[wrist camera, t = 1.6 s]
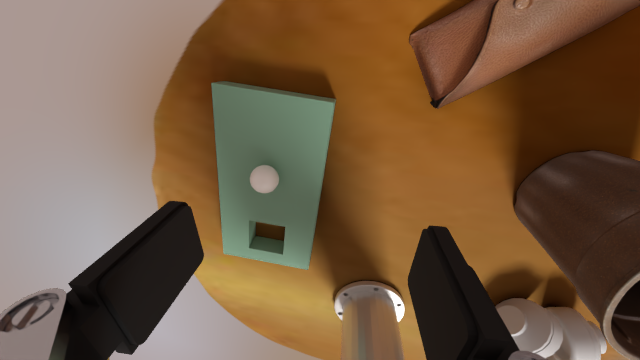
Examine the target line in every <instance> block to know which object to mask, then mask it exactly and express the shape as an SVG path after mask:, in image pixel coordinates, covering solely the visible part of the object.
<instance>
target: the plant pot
mask: <svg viewBox="0 0 640 360" xmlns="http://www.w3.org/2000/svg"><path fill="white" fill-rule="evenodd" d="M516 194H517V201H516V204H515V206H514V208H515V213H516V215H517V217H518V219H519V220H520V221H521V223H522V224H523V225H524V226H525V227H526V228H527V229H528V230H529V232H530V233H531V234H532V235H533V236H534V238H535V239H536V240H537V241H538V242H539V243H540V245H541V246H542V247H543V248H544V249H545V251H546V252H547V253H548V254H549V255H550V257H551V258H552V259H553V260H554V262H555V263H556V264H557V265H558V266H559V268H560V269H561V270H562V271H563V273H564V274H565V275H566V276H567V277H568V279H569V280H570V281H571V282H572V283H573V285H574V286H575V287H576V291H577V293H578V295H579V297H580V299H581V300H582V301H583V303H584V304H585V305H586V306H587V308H588V309H589V310H590V312H591V313H592V314H593V315H594V317H595V318H596V319H597V321H598V322H599V323H600V328H601V331H602V334H603V336H604V337H605V339H606V340H607V341H608V343H609V344H610V345H611V346H612V347H613V348H614V349H615V350H616V351H617V352H618V353H620V354H621V355H623V356H624V357H626V358H628V359H630V360H640V161H638V160H634V159H630V158H626V157H622V156H619V155H615V154H611V153H608V152H603V151H596V150H591V151H587V152H576V153H567V154H564V155H561V156H559V157H556V158H554V159H552V160H550V161H548V162H546V163H545V164H543V165H542V166H540V167H539V168H537V169H536V170H534V171H533V172H532V173H531V174H530V175H529V176H528V177H527V178H526V179H525V180H524V181H523V182H522V184H521V185H520V187H519V189H518V191H517V193H516Z"/></svg>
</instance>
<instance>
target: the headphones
mask: <svg viewBox="0 0 640 360" xmlns="http://www.w3.org/2000/svg"><path fill="white" fill-rule="evenodd" d="M495 308H496V309H497V311H498V313H499V315H500V316H501V318H502V320H503V322H504V323H505V325H506V327H507V329H508V330H509V332H510V334H511V336H512V337H513V339H514V341H515V343H516V344H517V346H518V348H519V350H520V351H529V352H532V353H535V354H538V355H540V356H542V357H544V358H546V359H547V360H601V354H603V353H605V352H606V349H607V346H606V341H605V338H604V336H603V334H602V332H601V331H600V329H599V328H598V327H597V326H596V325H595V324H594V323H593V322H591V321H586V320H585V319H584V317H583V316H582V315H581V314H580V313H578V312H577V311H576V310H574V309H572V308H569V307H547V308H543V307H542V306H540V305H538V304H536V303H535V302H533V301H530V300H527V299H523V298H512V299H508V300H504V301H502V302H501V303H499V304H497V305H496V306H495Z"/></svg>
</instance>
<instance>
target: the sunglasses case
mask: <svg viewBox="0 0 640 360" xmlns="http://www.w3.org/2000/svg"><path fill="white" fill-rule="evenodd" d="M639 5H640V0H473V1H471V2H470V3H468V4H466V5H465V6H463V7H461V8H459V9H458V10H456V11H454V12H452V13H451V14H449V15H447V16H445V17H443V18H441V19H439V20H437V21H436V22H434V23H432V24H430V25H428V26H426V27H424V28H422V29H420V30H418V31H416V32H414V33H413V34H411V35H410V39H409V43H410V45H411V46H412V48H413V49H414V52H415V55H416V58H417V61H418V63H419V66H420V69H421V72H422V75H423V78H424V81H425V84H426V86H427V89H428V92H429V95H430V97H431V98H432V100H433V101H431V102H430V103H431V104H432V106H433V107H434V108H437V109H438V108H441V107H442V106H444V105H446V104H448V103H450V102H453V101H455V100H457V99H459V98H461V97H463V96H465V95H468V94H470V93H472V92H474V91H476V90H478V89H480V88H482V87H484V86H486V85H488V84H490V83H492V82H494V81H496V80H498V79H500V78H502V77H504V76H506V75H508V74H510V73H512V72H514V71H516V70H518V69H520V68H522V67H524V66H526V65H528V64H530V63H532V62H534V61H536V60H537V59H540V58H541V57H543V56H545V55H547V54H549V53H551V52H553V51H555V50H557V49H559V48H561V47H563V46H565V45H567V44H569V43H571V42H573V41H575V40H577V39H579V38H581V37H583V36H585V35H586V34H588V33H590V32H592V31H594V30H596V29H598V28H600V27H602V26H603V25H605V24H607V23H609V22H611V21H613V20H614V19H616V18H618V17H619V16H621V15H623V14H625V13H626V12H628V11H630V10H632V9H634V8H636V7H638V6H639Z"/></svg>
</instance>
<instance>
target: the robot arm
mask: <svg viewBox="0 0 640 360" xmlns="http://www.w3.org/2000/svg"><path fill="white" fill-rule="evenodd" d="M203 257H204V253H203V249H202V245H201V242H200V238H199V234H198V231H197V227H196V224H195V220H194V216H193V213H192V209H191V207H190V206H188V204H187V203H185V202H177V201H169V202H168V203H166V204H165V205H164V206H163V207H161V208H160V209H159V210H158V211H157V212H155V213H154V214H153V215H152V216H150V217H149V218H148V219H147V220H146V221H144V222H143V223H142V224H141V225H140V226H138V227H137V228H136V229H135V230H133V231H132V232H131V233H130V234H128V235H127V236H126V237H125V238H123V239H122V240H121V241H120V242H119V243H117V244H116V245H115V246H114V247H112V249H110V250H109V251H108V252H106V253H105V254H104V255H103V256H102V257H101V258H99V259H98V260H97V261H95V262H94V263H93V264H92V265H91V266H89V267H88V268H87V269H86V270H84V271H83V272H82V273H81V274H79V275H78V276H77V277H76V278H75V279H73V280H72V281H71V282H70V283H69V285H70V287H71V288H72V290H71V291H70V292H68V293H67V294H66V292H65V291H64V290H62V289H58V288H53V289H46V290H42V291H38V292H36V293H34V294H31V295H28V296H27V297H24V298H23V299H21V300H19V301H17V302H15V303H14V304H12V305H11V306H10V307H8V308H7V309H5V310H4V311H3V312H2V313H1V314H0V360H109V357H110V356H111V354H112V353H113V352H114V351H115V350H116V352H118V353H124V354H131V355H132V354H133V353H134V351H135V350H136V349H137V347H138V346H139V345H141V344H143V343H144V342H145V341H146V340H147V338H148V337H149V335H150V334H151V333H152V331H153V330H154V328H155V327H156V326H157V324H158V323H159V321H160V320H161V318H162V317H163V316H164V314H165V313H166V312H167V310H168V309H169V307H170V306H171V304H172V303H173V302H174V300H175V299H176V297H177V296H178V295H179V293H180V291H181V290H182V289H183V287H184V286H185V285H186V283H187V282H188V281H189V279H190V278H191V276H192V275H193V274H194V272H195V271H196V269H197V268H198V267H199V265H200V264H201V262H202V260H203ZM408 287H409V291H410V295H411V299H412V303H413V307H414V311H415V315H416V319H417V323H418V327H419V331H420V335H421V339H422V343H423V347H424V351H425V355H426V359H427V360H547V359H546V358H544V357H542V356H540V355H538V354H535V353H532V352H529V351H520V350H519V348H518V346H517V344H516V343H515V341H514V339H513V337H512V336H511V334H510V332H509V330H508V329H507V327H506V325H505V323H504V322H503V320H502V318H501V316H500V315H499V313H498V311H497V309H496V308H495V306H494V304H493V302H492V301H491V299H490V297H489V295H488V294H487V292H486V290H485V288H484V287H483V285H482V283H481V281H480V280H479V278H478V276H477V274H476V273H475V271H474V270H473V268H472V267H470V266H469V265H468V264H467V263H466V261H465V259H464V257H463V255H462V254H461V252H460V250H459V248H458V246H457V245H456V243H455V241H454V239H453V237H452V236H451V234H450V232H449V230H448V229H447V228H446V227H440V226H429V227H428V228H427V229H423V231H422V234H421V237H420V240H419V244H418V247H417V250H416V253H415V257H414V260H413V263H412V266H411V269H410V273H409V276H408ZM334 308H335V312H336V314H337V315H338V317H339V318H340V319H341V320H342V342H341V360H405V357H404V352H403V346H402V341H401V335H400V329H399V324H398V322H399V321H400V320H401V318H402V317H403V315H404V312H405V307H404V302H403V299H402V297H401V295H400V294H399V293H398V292H397V291H396V290H395V289H393V288H392V287H390V286H388V285H386V284H383V283H380V282H375V281H359V282H354V283H351V284H348V285H347V286H345V287H343V288H342V289H341V290H340V291H339V292H338V293H337V295H336V297H335V303H334Z"/></svg>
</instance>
